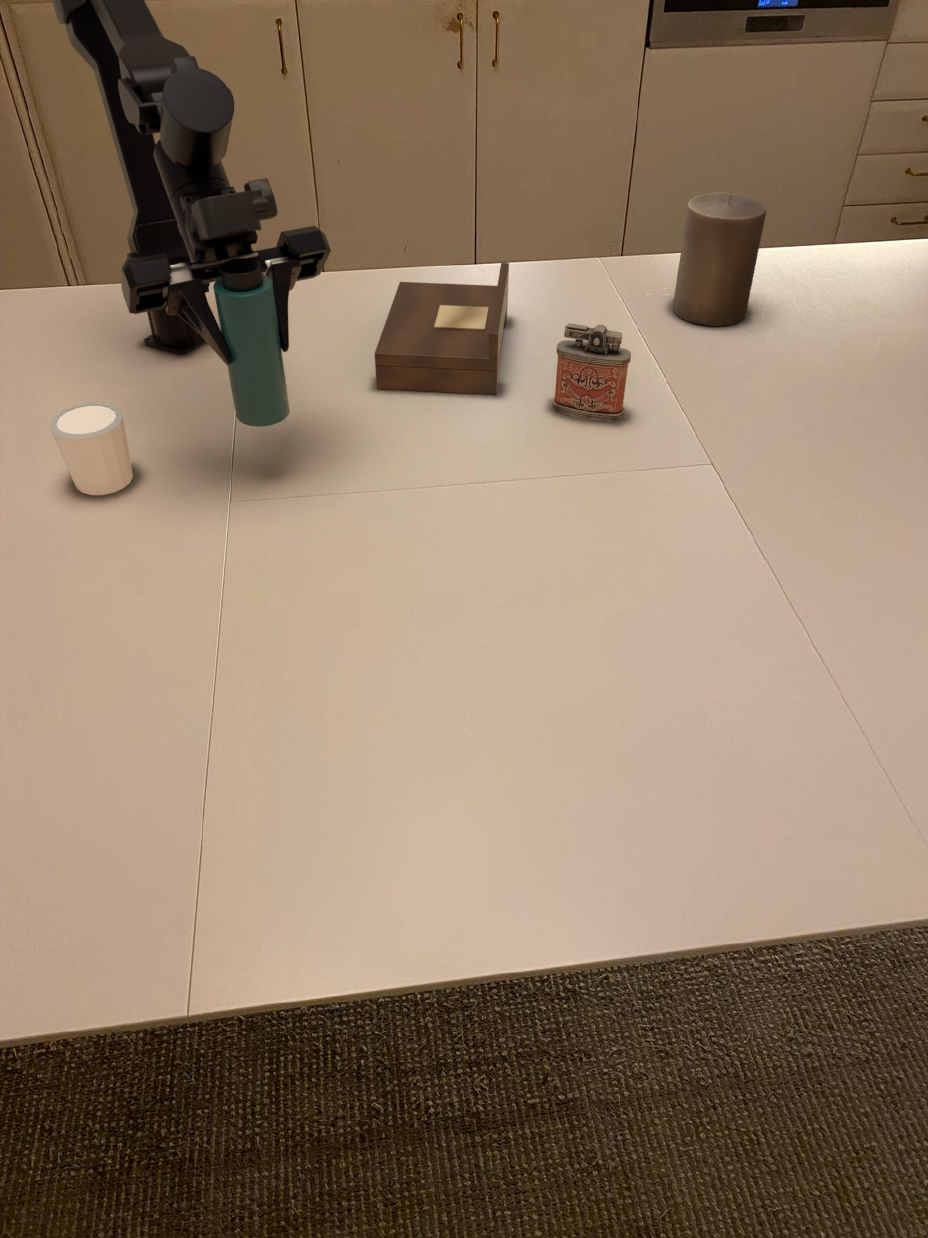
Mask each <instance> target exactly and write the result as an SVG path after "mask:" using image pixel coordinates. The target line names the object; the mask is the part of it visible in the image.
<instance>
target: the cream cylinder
mask: <svg viewBox="0 0 928 1238" xmlns="http://www.w3.org/2000/svg"><path fill="white" fill-rule="evenodd" d="M49 429H50V432H51V434H52V437H53V439H54V442H55V444H56V445H57V448H58V450H59V452H60V455H61V457H62V459H63V461H64V464H65V466H66V468H67V470H68V473H69V474H70V477H71V479H72V481H73V483H74V487H75V489H76V490H78V491H79V492H80V493H81V494H85V495H89V496H105V495H110V494H114V493H117V492H119V491H121V490H123V489H125V488H126V487H127V486H129V484H131V482H132V480H133V477H134V474H133V469H132V462H131V457H130V451H129V445H128V437H127V432H126V426H125V420H124V415H123V411H122V409H120V408H119V407H118V406H116V405H115V404H110V403H107V402H86V403H80V404H75V405H73V406H70V407H66V408H65V409H63V410H61V411H60V412H58V413H57V414H55V415H54V416H53V417H52V419H50V422H49Z"/></svg>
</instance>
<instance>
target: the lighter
mask: <svg viewBox="0 0 928 1238" xmlns="http://www.w3.org/2000/svg"><path fill="white" fill-rule="evenodd" d="M563 334H564V335H563V337H564V338H566V339H568V340H566V339H564V340H561V341H559V342H558V343H557V345H556V354H557V364H556V375H555V376H556V377H555V389H554V397H553V399H552V410H553V411H554V412H556V413H558V414H563V415H566V416H570V417H574V418H579V419H582V420H592V421H597V422H610V423H616V422H619V421H621V420H622V419H623V418H624V411H625V408H624V400H625V391H626V385H627V376H628V368H629V364H630V363H631V359H632V352H631V351H630V350H628V349H627V348H625V347H621V344H622V339H623V333H622V332H621V331H615V330H608V328H607V327H606V326H605V324H597V325H595V327H590V326H588V325H584V324H578V323H572V322H571V323H570V322H569V323H567V324H565V326H564V332H563ZM571 339H572V340H571Z"/></svg>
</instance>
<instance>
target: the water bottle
mask: <svg viewBox="0 0 928 1238" xmlns="http://www.w3.org/2000/svg"><path fill="white" fill-rule="evenodd" d="M219 269H220V275H221V278H220V279H218V280H217V281H216V282H213V287H212V288H213V293H214V299H215V305H216V310H217V311H216V312H217V316H218V321H219V328H220V330H221V332H222V335H223V337H224V339H225V341H226V344H227V346H228V349H229V353H230V356H231V359H232V362H231V365H226V367H227V373H228V378H229V383H230V384H229V385H230V389H231V395H232V400H233V406H234V412H235V413H234V414H235V417H236V419H237V420H238V421H239V422H240V423H242V424H244V425H246V426H250V427H268V426H273V425H276V424H278V423H281V422H282V421H285V419H287V418H288V416H289V415H290V403H289V395H288V387H287V380H286V373H285V372H286V371H285V366H284V359H283V358H284V357H283V350H282V348H281V342H280V334H279V327H278V319H277V312H276V304H275V297H274V289H273V282H272V280H271V279H270V278H269V277H268V276H266V275H263V272H262V269H261V264H260V262H258V261H257V260H254V259H249V258H237V259H232V260H228V261H226V262H224V263H222V264H221V265H220V268H219Z"/></svg>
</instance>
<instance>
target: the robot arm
mask: <svg viewBox="0 0 928 1238" xmlns="http://www.w3.org/2000/svg"><path fill="white" fill-rule="evenodd" d="M51 1H52V5H53V10H54V12H55V15H56V19H57V21H58V23H59V25H64V27H65V31H66V33H67V36H68V40H69V43H70V45H71V47H72V48H73V49H74V50H75V51H76V52H77V54H79V55H80V57H81V58H82V59H83V61H85V62H86V64H87V65H88V66H89V67H90V68H91V69H92V70H93V73H94V77H95V80H96V83H97V86H98V90H99V94H100V97H101V98H100V99H101V102H102V104H103V109H104V112H105V116H106V120H107V123H108V126H109V130H110V133H111V137H112V141H113V144H114V148H115V151H116V155H117V157H118V161H119V165H120V168H121V172H122V176H123V179H124V182H125V186H126V190H127V193H128V197H129V200H130V205H131V207H132V212H133V214H132V218H131V221H130V225H129V229H128V233H127V238H126V240H127V244H128V248H129V252H128V253H126V259H125V261H124V263H123V265H122V266H121V278H120V279H121V291H122V295H123V298H124V302H125V305H126V307H127V309H128V310H127V311H128V313H129V314H133V315H137V314H143V313H146V314H147V318H148V322H149V327H150V331H151V334H150V335H148V336H146V337H145V338H144V339H143V343H144V345H147V346H151V347H155V348H158V349H162V350H165V351H169V352H172V353H175V354H178V355H185V354H187V353H189V352H190V351H193V350H194V349H195V348H197V347H199V346H200V345H202V344H203V343H205V342H206V344H207V345H208V346H209V347H210V348H211V350H213V352H214V353H215V354H216V355H217V356H218V358H220V360H221V361H222V362H223V363H224V364H225V365H226V366H227V365H231V362H232V359H231V356H230V353H229V349H228V346H227V344H226V341H225V339H224V337H223V335H222V332H221V328H220V325H219V323H218V321H217V319H216V317H215V315H214V312H213V310H212V308H211V306H210V304H209V301H208V297H207V295H206V293H210V286H211V283H215V282H216V281H217V280H218V279H220V278H221V275H220V269H219V268H220V265H221V264H222V263H224V262H226V261H228V260H232V259H237V258H249V259H254V260H257V261H258V262H260V264H261V269H262V274H263V275H266V276H268V277H269V278H270V279H271V280H272V282H273V289H274V297H275V304H276V312H277V319H278V327H279V334H280V342H281V349H282V353H288V351H289V348H290V339H289V338H290V336H289V335H290V331H289V330H290V327H289V295H290V291H292V290H294V287H295V286H296V282H300V281H305V280H310V279H315V278H316V277H318V276H320V275H321V273H322V272H323V270H324V267H325V264H326V263H327V260H328V259H329V256H330V254H331V252H332V250H331V247H330V244H329V241H328V238H327V235H326V233H325V232H324V231H322V229H319V228H318V227H317V226H316V225H310V226H305V227H300V228H294V229H288V230H284V231H283V230H282V231H280V233H279V236H278V240H277V242H276V246H274V247H269V248H263V249H257V250H254V249H253V246H252V245H256V244H257V243H258V238H259V236H258V233H257V232H260V231H262V225H261V221H266V220H271V219H273V218H275V217H277V215H278V206H277V201H276V198H275V195H274V192H273V190H272V186H271V184H270V182H269V179H268V177H265V178H258V179H252V180H248V181H247V182H246V183H244V184H243V189H244V190H243V191H239V192H237V191H236V189H235V187H234V186H231V184H230V182H229V178H228V176H227V173H226V170H225V167H224V163H223V161H222V160H223V159H224V158H225V157H226V156H227V151H228V146H229V141H230V135H231V129H232V125H233V120H234V119H233V118H234V114H235V99H234V95H233V92H232V90H231V88H229V87H228V86H227V85H226V83H225V82H224V81H223V80H222V79H221V78H220V77H219V76H217V75H216V74H214V73H213V72H211V71H209V70H206V69H203V68H201V67H199V64H198V62H197V59H196V57H195V56H194V55H191V54H190V53H189V51H188V50H187V49H186V47H185V46H183V45H182V44H179V43H177V42H175V41H172V40H171V39H169V38H168V39H167V38H166V37H165V36H164V34H163V32H162V31H161V28H160V26H159V24H158V23H157V21H156V19H155V17H154V15H153V14H152V11H151V9H150V8H149V6H148V4H147V2H146V0H51ZM154 134H159V139H158V141H157V142H156V140H155V137H154Z"/></svg>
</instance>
